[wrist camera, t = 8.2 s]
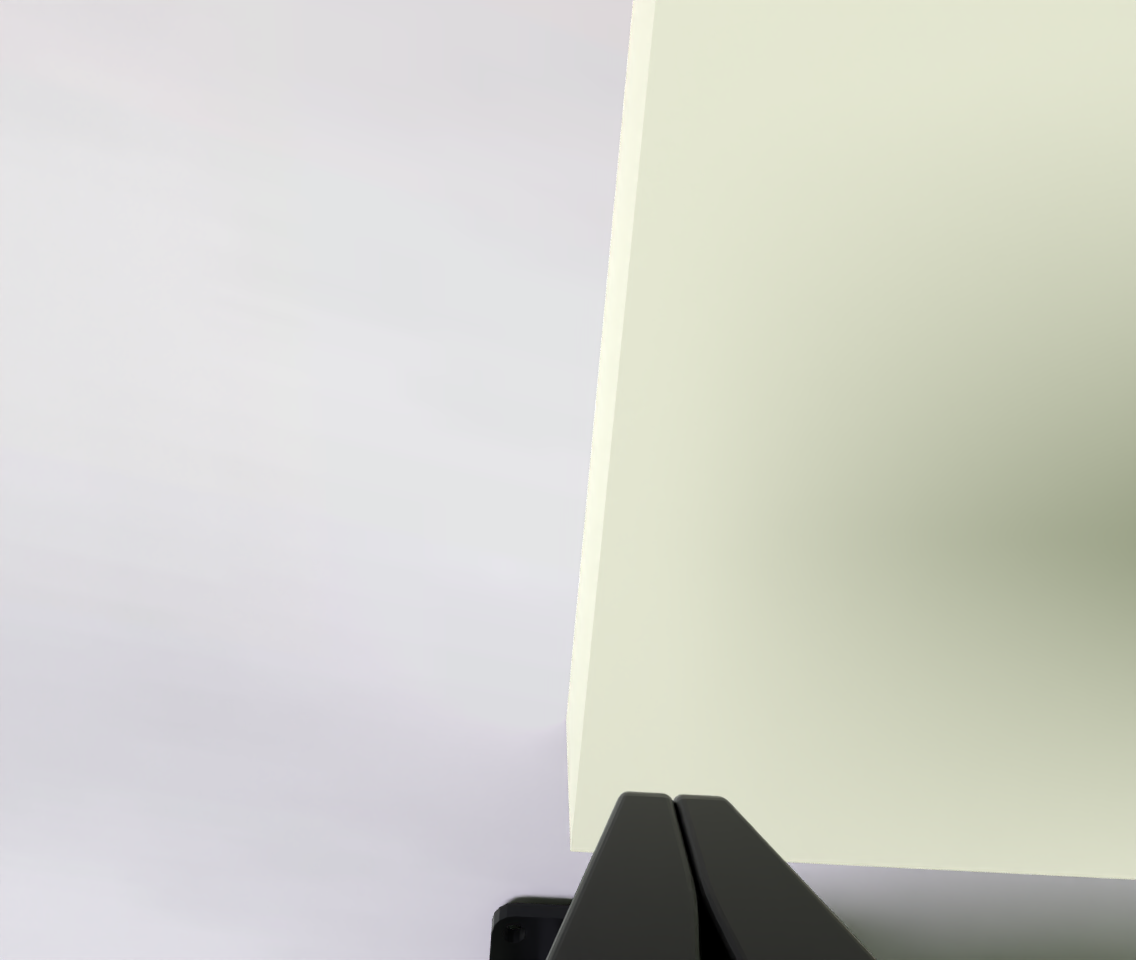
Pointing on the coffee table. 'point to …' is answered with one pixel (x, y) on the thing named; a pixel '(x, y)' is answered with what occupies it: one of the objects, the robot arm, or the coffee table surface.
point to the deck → (870, 434)
